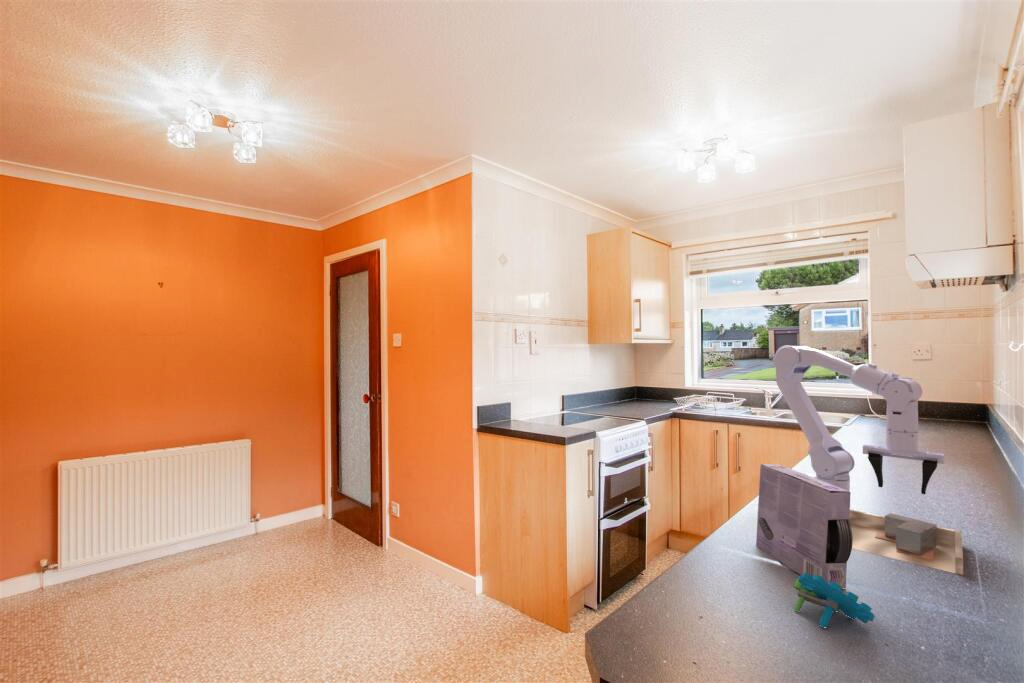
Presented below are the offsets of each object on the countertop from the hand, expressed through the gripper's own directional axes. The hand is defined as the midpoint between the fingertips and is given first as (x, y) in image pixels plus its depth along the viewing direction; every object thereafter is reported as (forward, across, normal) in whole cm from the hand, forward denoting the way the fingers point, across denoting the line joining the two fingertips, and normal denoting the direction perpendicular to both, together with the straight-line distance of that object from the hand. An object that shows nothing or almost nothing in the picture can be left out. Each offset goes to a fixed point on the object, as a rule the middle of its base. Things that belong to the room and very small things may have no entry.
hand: (901, 489), depth 111 cm
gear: (+10, +6, +55) cm, 56 cm away
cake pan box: (+10, +13, +38) cm, 41 cm away
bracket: (+9, -1, +12) cm, 15 cm away
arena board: (+9, +2, +13) cm, 16 cm away
